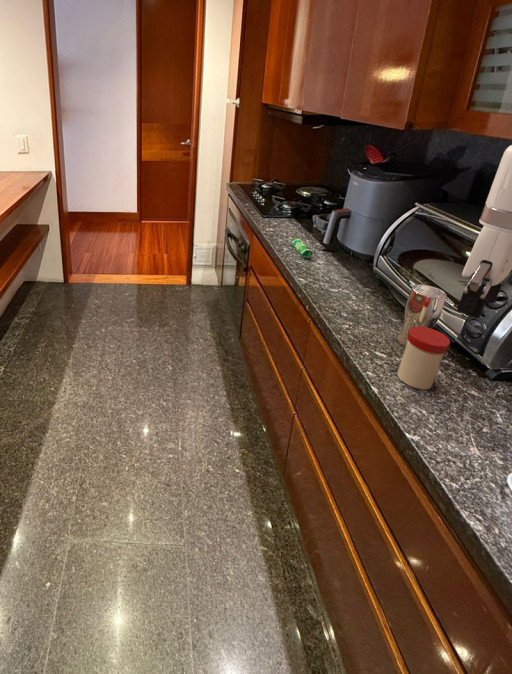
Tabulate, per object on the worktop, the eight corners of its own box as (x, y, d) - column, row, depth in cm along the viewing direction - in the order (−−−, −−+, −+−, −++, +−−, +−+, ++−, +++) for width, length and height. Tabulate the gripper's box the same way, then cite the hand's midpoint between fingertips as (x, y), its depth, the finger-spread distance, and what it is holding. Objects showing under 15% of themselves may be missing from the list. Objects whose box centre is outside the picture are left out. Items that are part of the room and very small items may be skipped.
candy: (314, 256, 143) (309, 247, 142) (305, 260, 144) (300, 252, 142) (301, 243, 154) (297, 235, 153) (293, 248, 155) (289, 240, 153)
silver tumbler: (430, 342, 97) (449, 290, 91) (426, 355, 92) (445, 301, 87) (398, 331, 101) (414, 280, 96) (392, 343, 97) (408, 291, 91)
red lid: (451, 357, 77) (454, 350, 77) (409, 348, 80) (412, 340, 79) (443, 338, 83) (446, 331, 82) (404, 330, 86) (407, 323, 85)
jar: (427, 373, 87) (441, 334, 83) (436, 392, 81) (452, 352, 77) (394, 366, 89) (406, 327, 85) (400, 384, 84) (414, 344, 80)
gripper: (497, 204, 73) (467, 285, 80) (465, 222, 64) (433, 312, 70) (553, 214, 67) (515, 301, 74) (526, 236, 58) (486, 333, 65)
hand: (475, 306), depth 72 cm, fingers open, 8 cm apart
